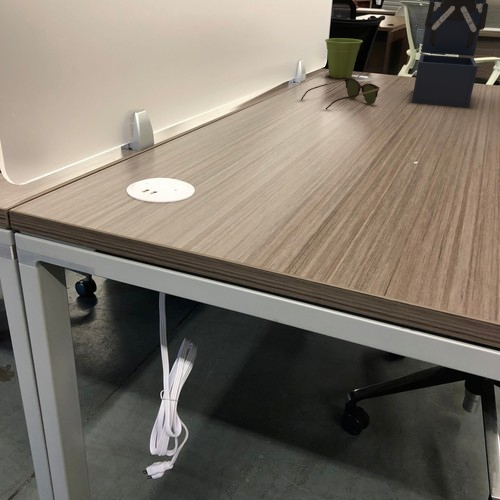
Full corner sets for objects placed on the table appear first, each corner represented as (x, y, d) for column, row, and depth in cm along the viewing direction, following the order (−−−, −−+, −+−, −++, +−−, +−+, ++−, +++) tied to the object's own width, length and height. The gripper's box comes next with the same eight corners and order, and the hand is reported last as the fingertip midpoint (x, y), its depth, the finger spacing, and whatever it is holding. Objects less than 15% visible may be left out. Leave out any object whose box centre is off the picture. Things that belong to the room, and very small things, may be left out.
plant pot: (321, 73, 171) (324, 37, 165) (356, 75, 170) (360, 38, 164) (322, 79, 160) (325, 41, 155) (359, 81, 159) (364, 42, 154)
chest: (468, 107, 128) (478, 66, 123) (411, 102, 132) (418, 62, 127) (465, 95, 143) (473, 57, 138) (414, 90, 147) (420, 54, 142)
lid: (491, -22, 128) (489, -23, 133) (433, -24, 132) (434, -25, 137) (473, 56, 138) (472, 52, 143) (420, 52, 142) (421, 49, 146)
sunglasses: (378, 106, 126) (380, 86, 124) (328, 116, 121) (329, 94, 118) (344, 95, 138) (345, 76, 135) (297, 103, 132) (297, 84, 130)
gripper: (433, -26, 122) (421, 46, 129) (497, -25, 118) (480, 50, 125) (433, -25, 128) (421, 43, 135) (494, -24, 124) (478, 47, 132)
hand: (450, 46), depth 130 cm, fingers open, 8 cm apart
